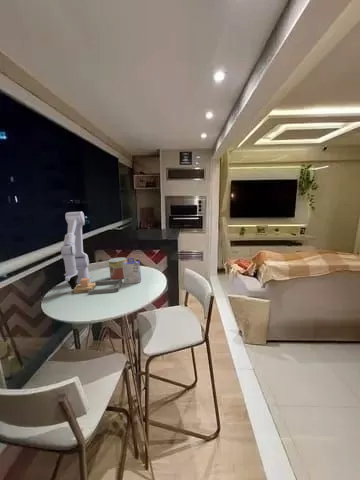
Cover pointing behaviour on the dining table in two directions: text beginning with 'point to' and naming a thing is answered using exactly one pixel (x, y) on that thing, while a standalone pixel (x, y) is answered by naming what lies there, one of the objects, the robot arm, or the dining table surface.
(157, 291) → the dining table surface
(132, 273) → the ink cartridge box
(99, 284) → the dock
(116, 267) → the canned food
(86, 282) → the salmon pink cube
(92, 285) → the pallet
